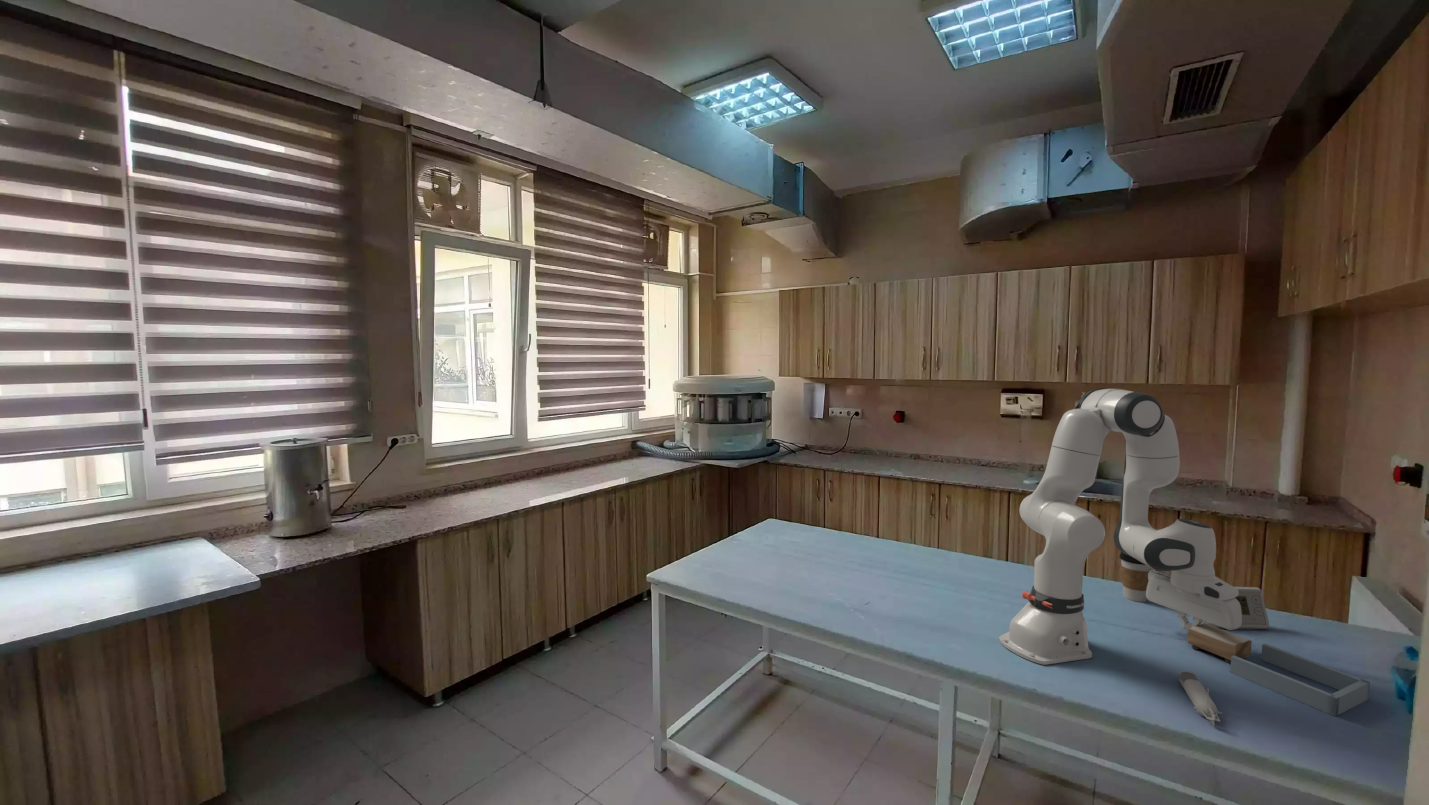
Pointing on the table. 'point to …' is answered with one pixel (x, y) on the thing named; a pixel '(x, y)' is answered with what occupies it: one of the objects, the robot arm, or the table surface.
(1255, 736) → the table surface
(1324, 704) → the bay
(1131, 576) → the coffee cup
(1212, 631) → the tan block
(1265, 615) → the digital clock
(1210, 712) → the torpedo
